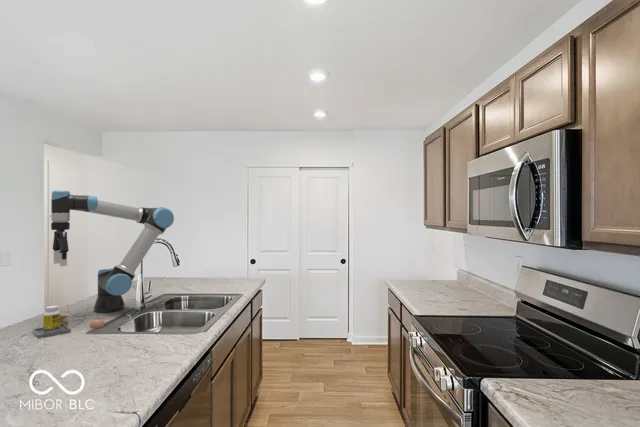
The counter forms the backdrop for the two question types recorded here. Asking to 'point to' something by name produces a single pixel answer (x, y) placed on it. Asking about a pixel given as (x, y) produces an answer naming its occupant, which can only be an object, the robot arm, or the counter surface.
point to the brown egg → (97, 323)
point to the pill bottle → (51, 319)
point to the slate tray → (40, 333)
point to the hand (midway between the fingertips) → (60, 264)
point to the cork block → (64, 319)
